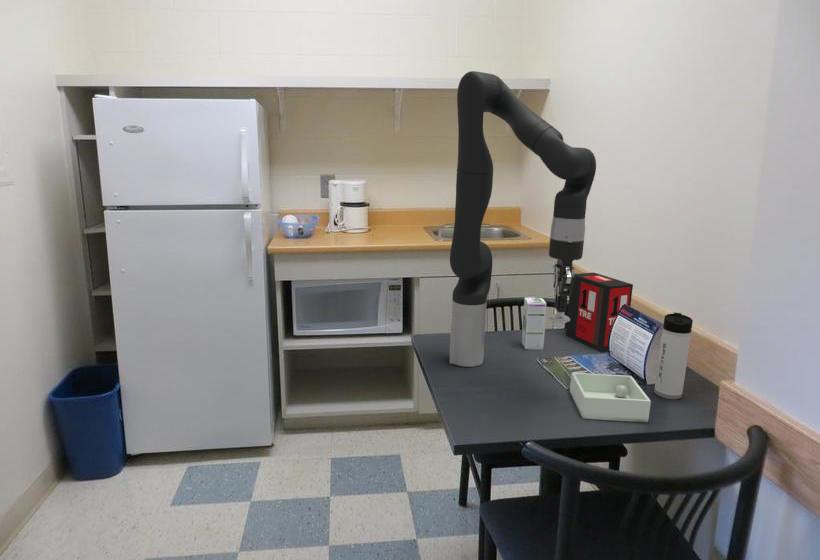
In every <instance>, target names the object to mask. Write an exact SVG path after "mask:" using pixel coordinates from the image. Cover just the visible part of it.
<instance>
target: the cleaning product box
mask: <svg viewBox="0 0 820 560" xmlns="http://www.w3.org/2000/svg"><path fill="white" fill-rule="evenodd" d="M574 276H575V280H574V284H573V288H572V292H571V296H569V297H568V303H567V315H566V316H568V317H569V318H570V321H569V322H566V324H565V337H568V338H570V339H572V340H574V341H576V342H578V343H580V344H582V345H585V346H586V347H589V348H591V349H593V350H595V351H597V352H600V353H601V354H604V353H609V352H608V338H609V332H610V328H611V326H612V323H613V322H614V319H615V318H616V315H617V313H618V312H619V310H620V308H621V307H622V305H624V304H626V305H628V306H630V307H631V304H632V297H633V296H632V295H633V289H634V288H633V287H634V284H633V283H630V282H627V281H624V280H620V279H616V278H613V277H610V276H607V275H603V274H601V273H596V272H584V273H582V272H581V273H574Z"/></svg>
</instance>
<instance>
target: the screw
mask: <svg viewBox="0 0 820 560" xmlns="http://www.w3.org/2000/svg"><path fill="white" fill-rule="evenodd" d="M560 283H561V282H560ZM563 290H564V291H566V289H563ZM548 319H549V320H550V321H552V322H553V323H552V325H553V328H556V329H564V328H566V324H567V322H569V321H570V318H569V317H568V316H567V315H566V314H565V312H557V311H556V313H555V314H551V315H549V317H548Z"/></svg>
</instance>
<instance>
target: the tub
mask: <svg viewBox="0 0 820 560" xmlns="http://www.w3.org/2000/svg"><path fill="white" fill-rule="evenodd" d="M618 385H624V386H626V387H627V389H628V394H627V396H625V397H623V398H621V397H618V396H617V395H616V394H615V388H616V387H617V386H618ZM569 394H570V395H571V397H572V399H573V402H574V404H575V406H576V409H577V410H578V412H579V413H580V417H581V418H582V419H583V420H584V419H587V420H603V421H604V420H605V421H619V422H635V423H637V422H638V423H649V417H650V410H651V403H652V401H651V400H650V398H649V396H648V395H647V394H646V393H645V391H644V390H643V389H642V388H641V387H640V385H639V384H638V382H637V381H636V380H635V379H634V377H633V376H632V375H623V374H605V373H604V374H603V373H584V372H571V377H570V385H569Z"/></svg>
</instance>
